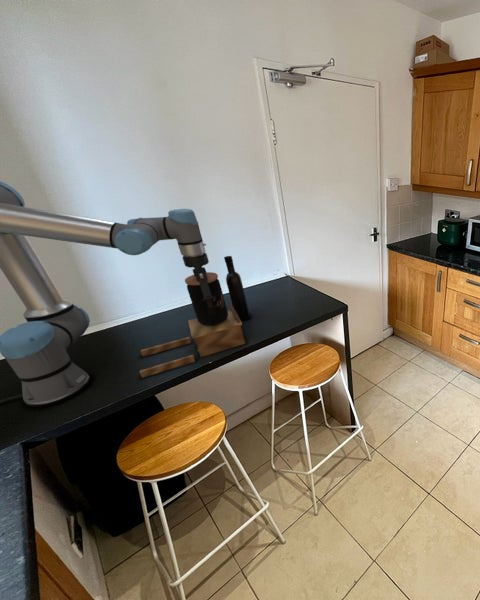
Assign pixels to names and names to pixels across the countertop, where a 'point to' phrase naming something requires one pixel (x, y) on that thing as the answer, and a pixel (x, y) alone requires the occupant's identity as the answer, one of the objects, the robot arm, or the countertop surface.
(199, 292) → the coffee jar
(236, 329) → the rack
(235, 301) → the wine bottle
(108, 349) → the countertop surface
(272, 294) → the countertop surface
